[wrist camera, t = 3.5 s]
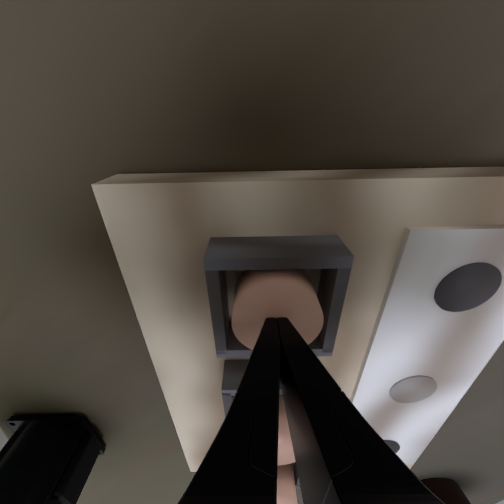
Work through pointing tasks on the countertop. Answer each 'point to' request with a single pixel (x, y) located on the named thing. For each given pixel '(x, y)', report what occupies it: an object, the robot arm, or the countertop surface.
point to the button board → (318, 284)
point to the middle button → (284, 437)
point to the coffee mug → (446, 490)
